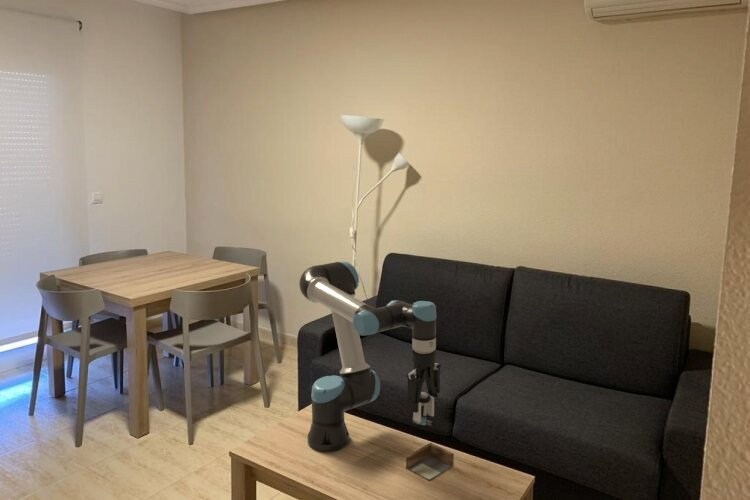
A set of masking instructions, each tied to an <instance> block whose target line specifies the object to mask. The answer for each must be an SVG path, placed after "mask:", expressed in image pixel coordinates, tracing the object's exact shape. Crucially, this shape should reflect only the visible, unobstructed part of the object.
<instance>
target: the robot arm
mask: <svg viewBox="0 0 750 500" xmlns="http://www.w3.org/2000/svg"><path fill="white" fill-rule="evenodd" d="M299 278H300V279H299V286H298V287H299V290H300V293H301V294H302V295H303V296H304V297H305V298H306V299H307V300H308V301H310V302H312V303H315V304H317V303H319V304H321V305H323V306H324V307H326V308H328V309H329V310H330V311H331V316H332V321H333V326H334V330H335V334H336V335H335V336H336V339H337V346H338V350H339V351H338V352H339V356H340V361H341V362H340V363H341V366H342V367H341V369H340V370H339V375H326V376H322V377H320V378H318V379H316V381H314V383H312V387H311V394H310V395H311V396H310V397H311V419H312V420H311V424H310V429H309V431H308V434H307V444H308V446H309V447H310V448H311V449H313V450H315V451H319V452H329V453H330V452H336V451H340V450H342V449H344V448H345V447H347V446H348V445H349V444H350V433H349V430H348V427H347V425H346V422H345V412H346V411H349V410H352V409H355V408H358V407H361V406H363V405H368V404H369V403H372V402H373V401H375V400H377V398H378V396H379V395H380V390H381V381H380V378H379V376H378V374H377V372H376V371H374V370H373V369H371V365H369V364H368V363H366V360H365V356H364V351H363V347H362V341H361V337H360V336H362V337H364V336H372V335H375V334H377V333H378V334H379V333H381V332H384V331H388V330H392V329H396V328H400V327H405V328H408V329H411V330H412V332H411V333H412V339H411V340H412V341H411V343H412V344H411V345H412V346H411V347H412V352H411V353H412V355H411V357H412V358H411V359H412V363H413V369H412V370H411V371H410V372H409V371H407V372H406V377H407V393H406V394H407V397H406V398H407V402H410V403H411V405H412V409H411V410H412V412H413V414H412V420H415V421H417V422H421V403H420V402H419V400H420V395H421V392H422V390H423V386H424V385H423V384H424V383H425V384H426V389H427V393H428V395H429V396H430V400H429V402H428V403H427V409H426V414H427V416H430V417H432V418H433V417H434V416H435V405H436V398H438V396H439V393H441V383H440V382H441V381H440V380H441V377H440V373H441V367H442V364H440V363H437V362H436V361H437V360H436V359H437V352H436V349H437V317H438V316H437V306H436V304H435V303H434V302H431V301H429V300H428V301H426V300H418V301H416V302H413V303H409V302H405V301H403V300H397V299H396V300H391V301H390V302H389V303H387V304H386V306H381V307H380V306H379V307H377V308H374V307H373V306H371V305H369V304H367V303H365V302H364V301H361V300H360V299H358V298H356V297H355V296H356V289H358V287H359V283H360V279H359V278H360V277H359V274H358V271H357V269H356V268H355V267H354V265H352V264H351V263H350V262H348V261H334V262H330V263H329V262H328V263H324V264H318V265H312V266H310V267H308V268H307V269H305V270H304V271H303V272H302V274H301V276H300V277H299ZM415 398H416V399H415Z"/></svg>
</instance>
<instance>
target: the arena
mask: <svg viewBox="0 0 750 500" xmlns="http://www.w3.org/2000/svg"><path fill="white" fill-rule="evenodd" d="M454 456H455V454H454V453H453V452H451V451H449V450H447V449H444V448H443V447H441V446H438V445H437V444H434V443H432V442H429V443H427V444H425V445H424V446H422V447H420V448H418V449H417V450H415V451H413V452H412V453H409V454H407V455H406V457H405V459H406V460H405V462H406V463H405V465H406V466H405V468H406V469H407V470H409V471H411V472H412V473H414V474H416V475H418V476H420V477H422V478H423V479H426V480H427V481H429V482H430V481H432V480H434V479H435V478H436V477H438V476H440V475H441V474H443V473H444V472H446V471H447V470H449V469H451V468H452V467H454V461H455V459H454V458H455V457H454Z"/></svg>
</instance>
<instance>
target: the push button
mask: <svg viewBox="0 0 750 500" xmlns="http://www.w3.org/2000/svg"><path fill="white" fill-rule="evenodd" d="M415 399H416V398H415ZM429 400H430V396H429V394H428V392H427V391H421V395H420V400H419V402H420V403H421V422H417V421H415V420H413V419H412V420H411V421H412V423H415V424H416V425H422V426H426V425H429V426H431V425H432V422H433V421H431V420H429V415H428V414H426V409H427V403H428V402H429Z"/></svg>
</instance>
